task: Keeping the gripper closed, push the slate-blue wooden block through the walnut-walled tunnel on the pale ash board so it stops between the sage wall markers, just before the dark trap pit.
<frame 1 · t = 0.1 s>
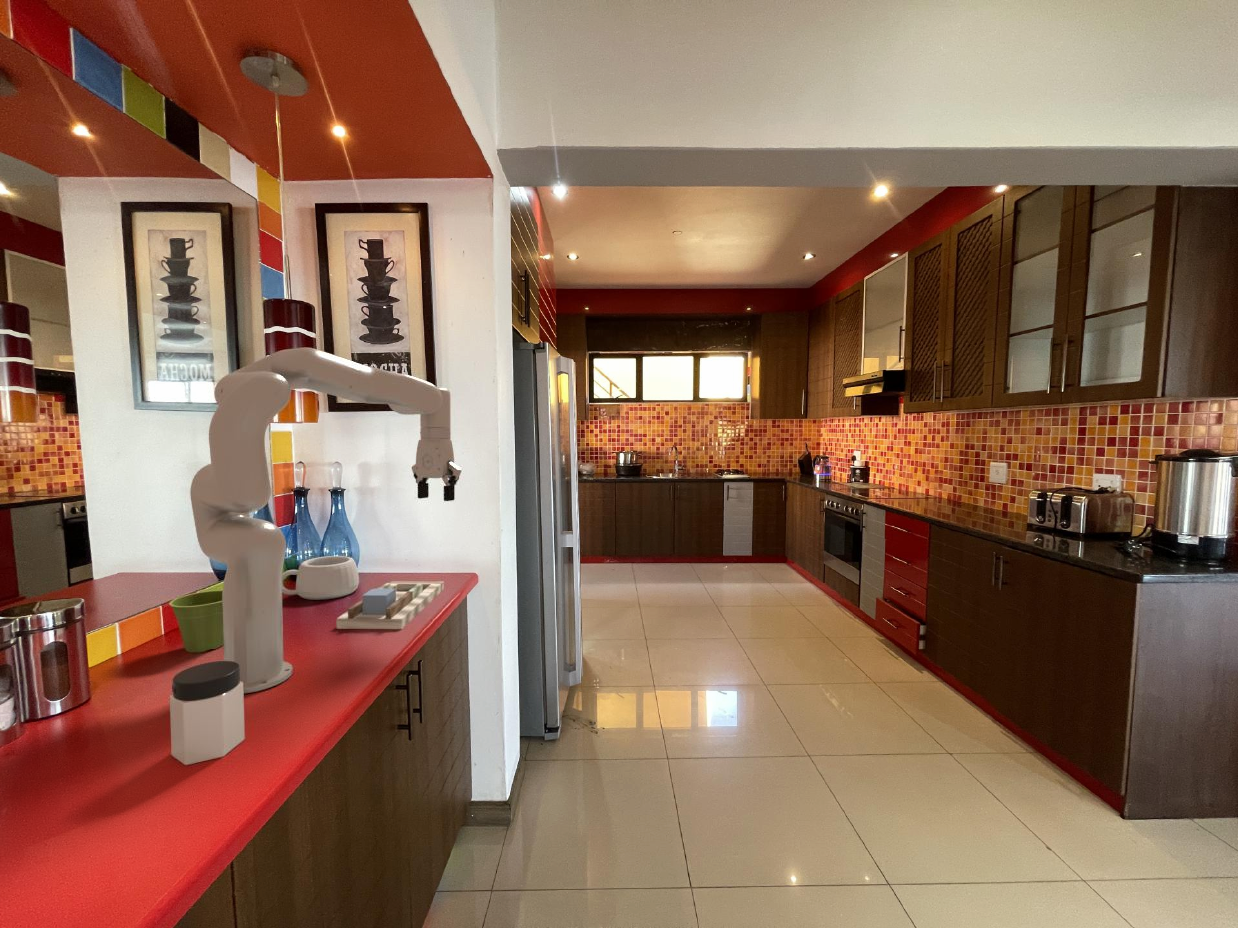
hand: (435, 499, 142), 31 cm above the countertop, tool pointing down, fingers open, 9 cm apart
plant pot: (205, 647, 120), on the countertop
jar: (209, 749, 82), on the countertop
slate block: (379, 610, 138), point 2 cm above the countertop, touching tunnel board
mug: (319, 595, 159), on the countertop
tunnel board: (389, 612, 144), on the countertop
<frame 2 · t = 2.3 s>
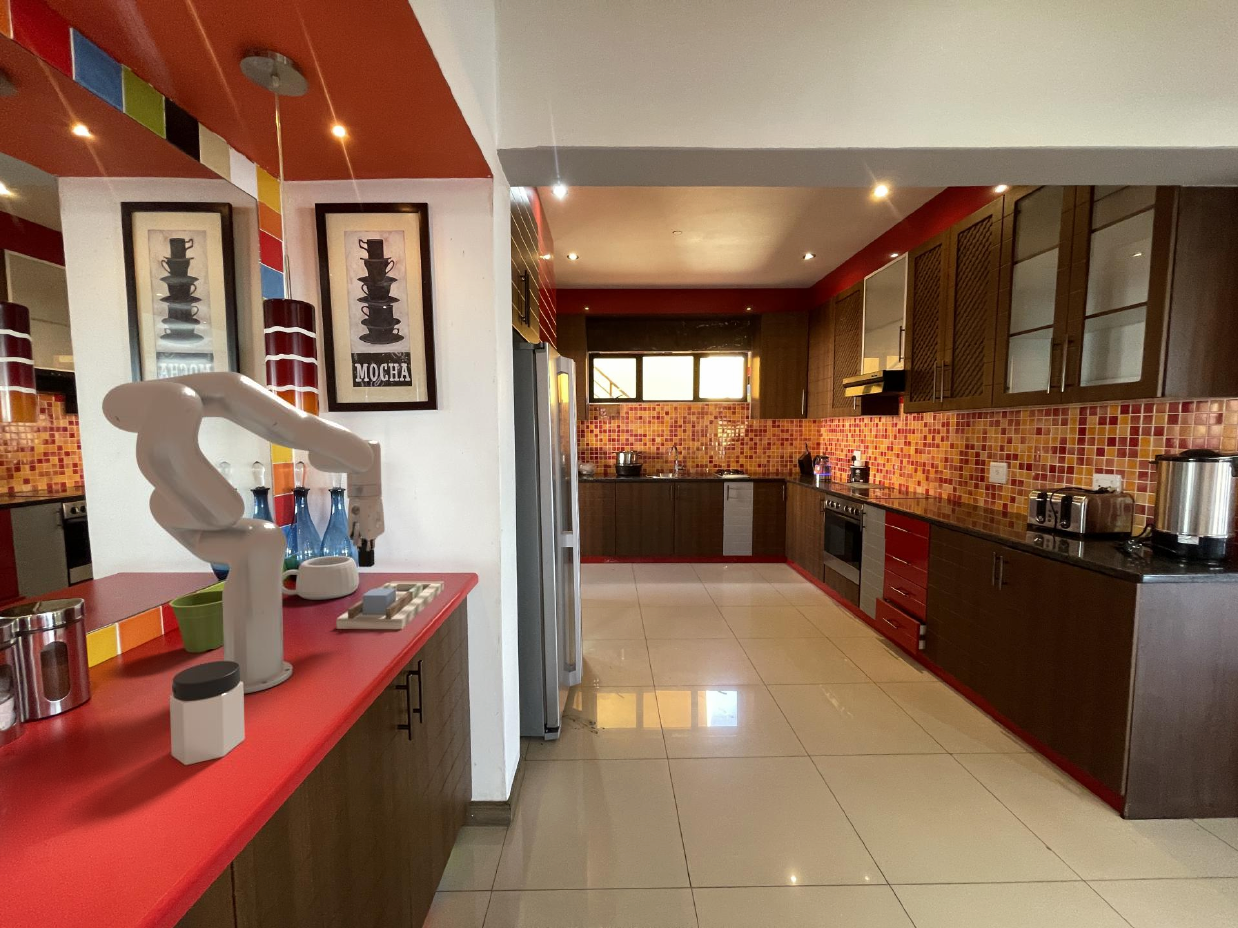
hand: (366, 565, 130), 16 cm above the countertop, tool pointing down, fingers closed
nothing on the countertop moved.
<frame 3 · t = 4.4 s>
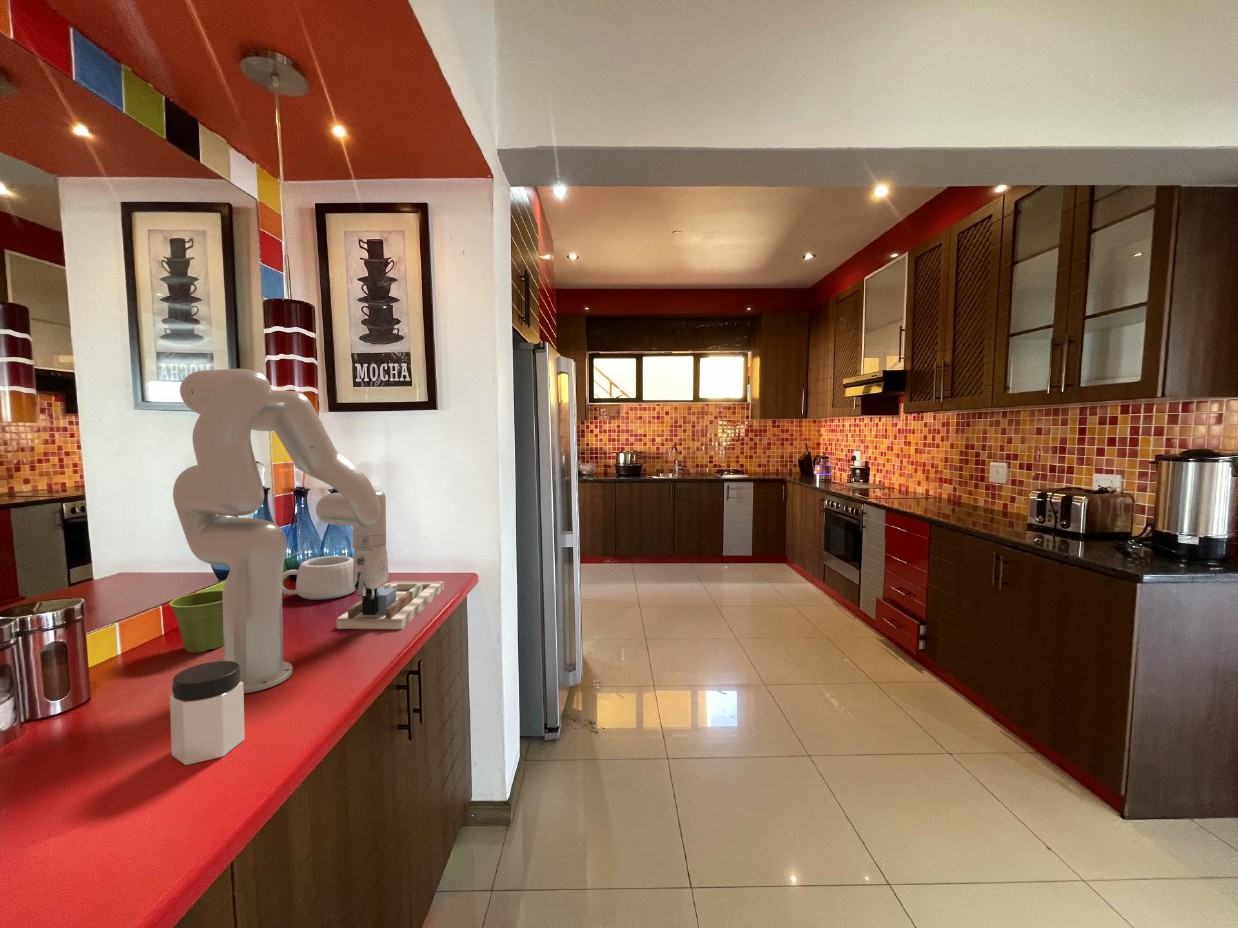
hand: (370, 613, 133), 4 cm above the countertop, tool pointing down, fingers closed
slate block: (379, 610, 138), point 2 cm above the countertop, touching gripper, tunnel board
everything else where it was.
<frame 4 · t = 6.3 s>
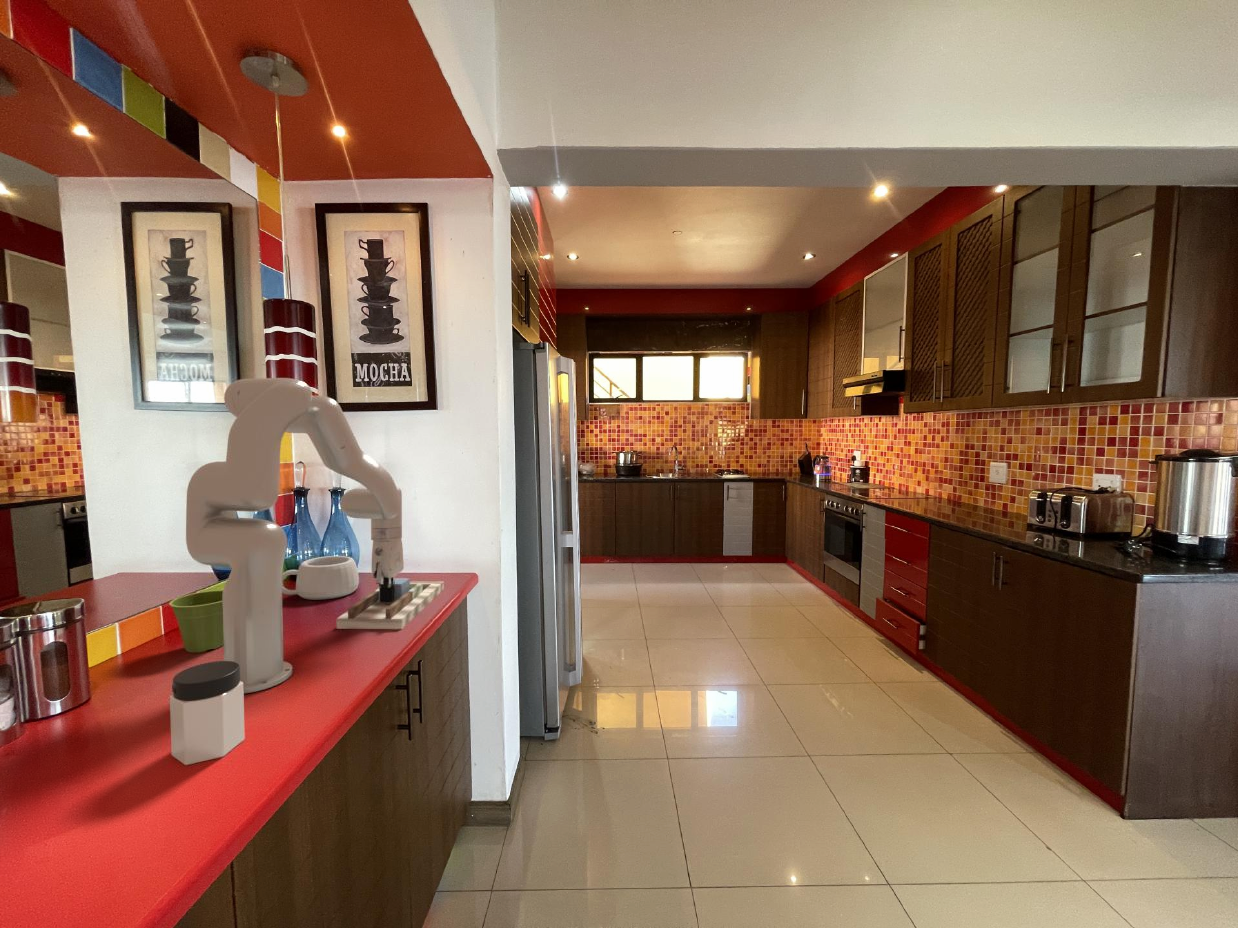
hand: (387, 601, 143), 4 cm above the countertop, tool pointing down, fingers closed
slate block: (394, 598, 148), point 3 cm above the countertop, touching gripper
everything else where it was.
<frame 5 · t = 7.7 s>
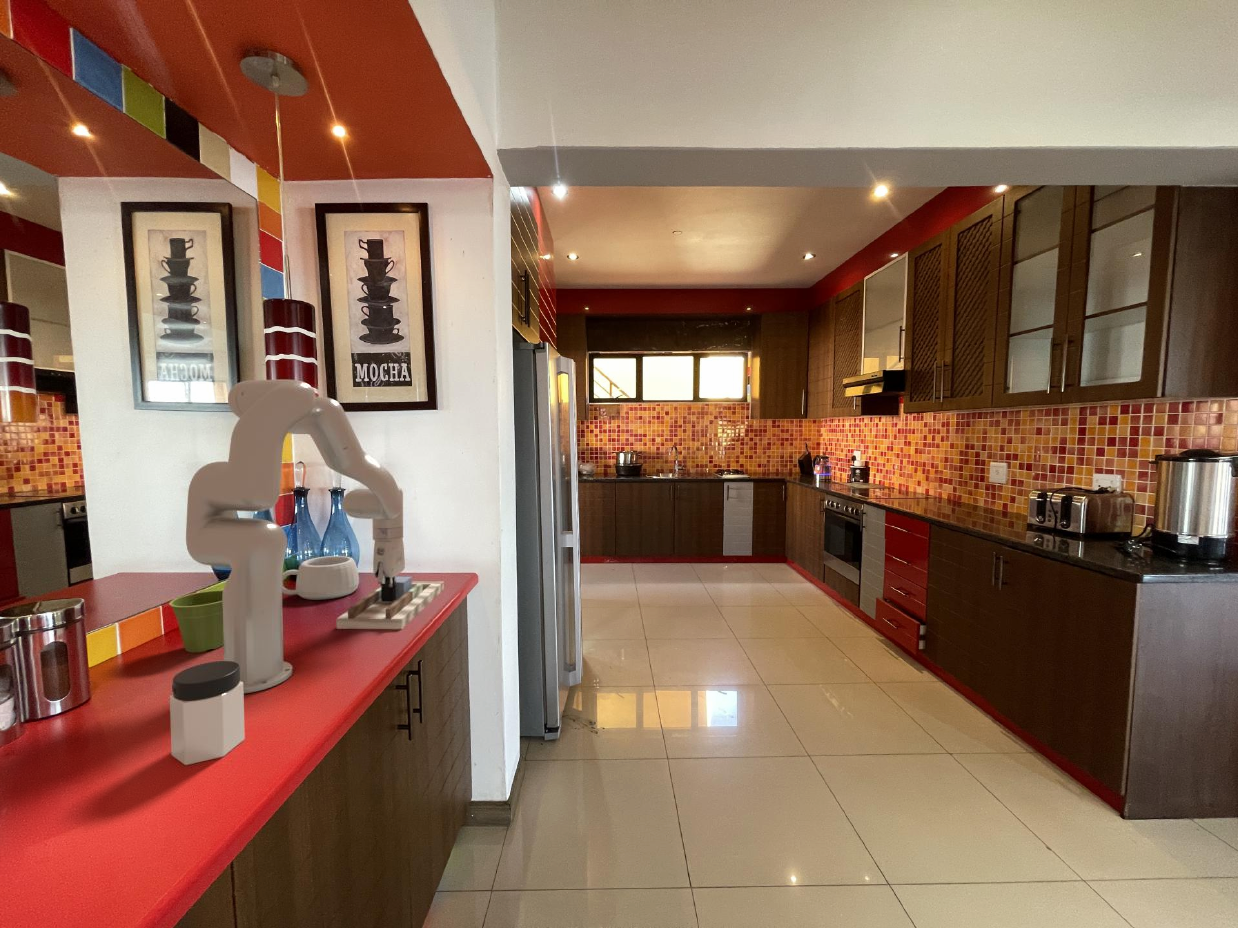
hand: (388, 600, 144), 3 cm above the countertop, tool pointing down, fingers closed
slate block: (397, 596, 150), point 2 cm above the countertop, touching tunnel board
everything else where it was.
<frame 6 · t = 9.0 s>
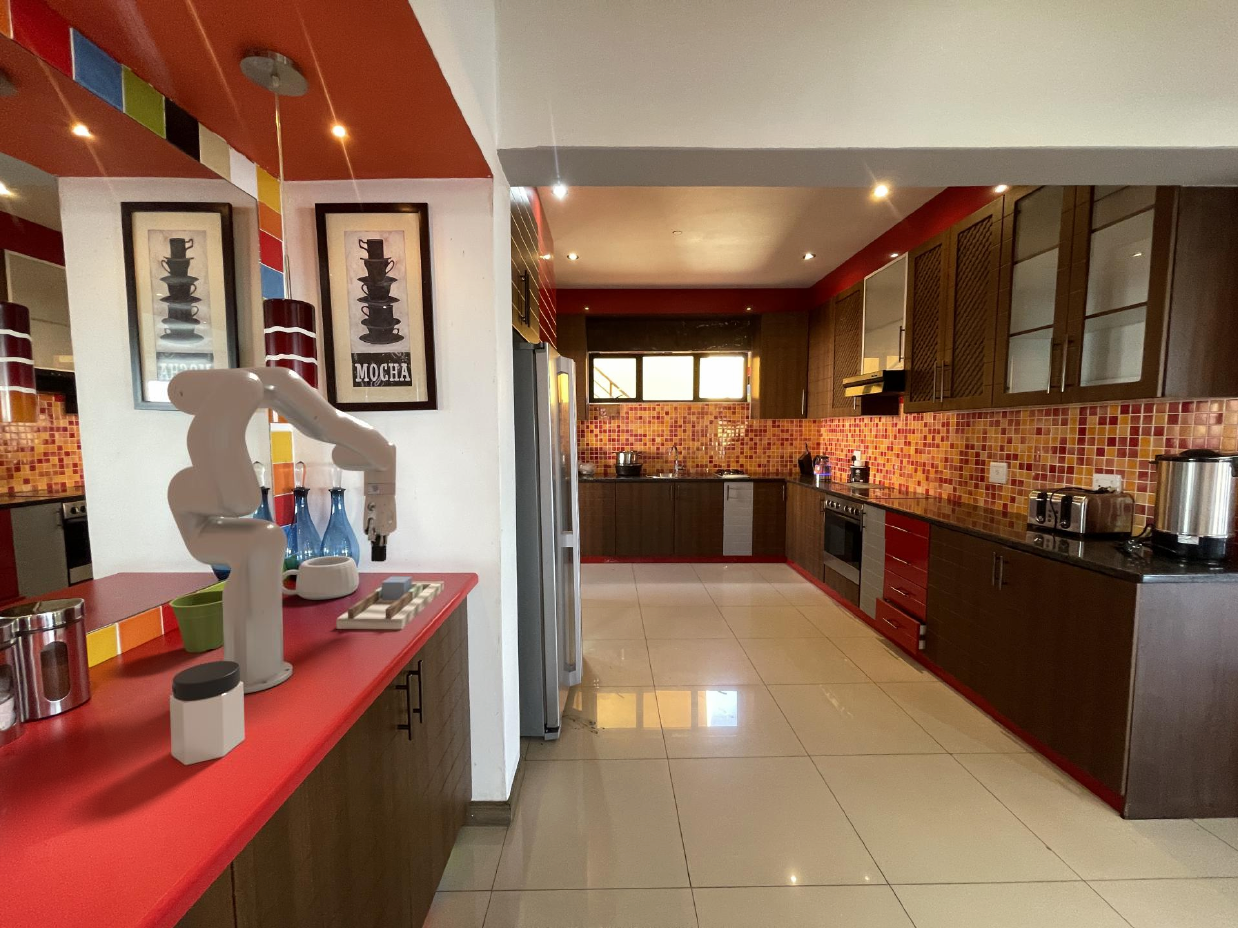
hand: (378, 560, 138), 16 cm above the countertop, tool pointing down, fingers closed
nothing on the countertop moved.
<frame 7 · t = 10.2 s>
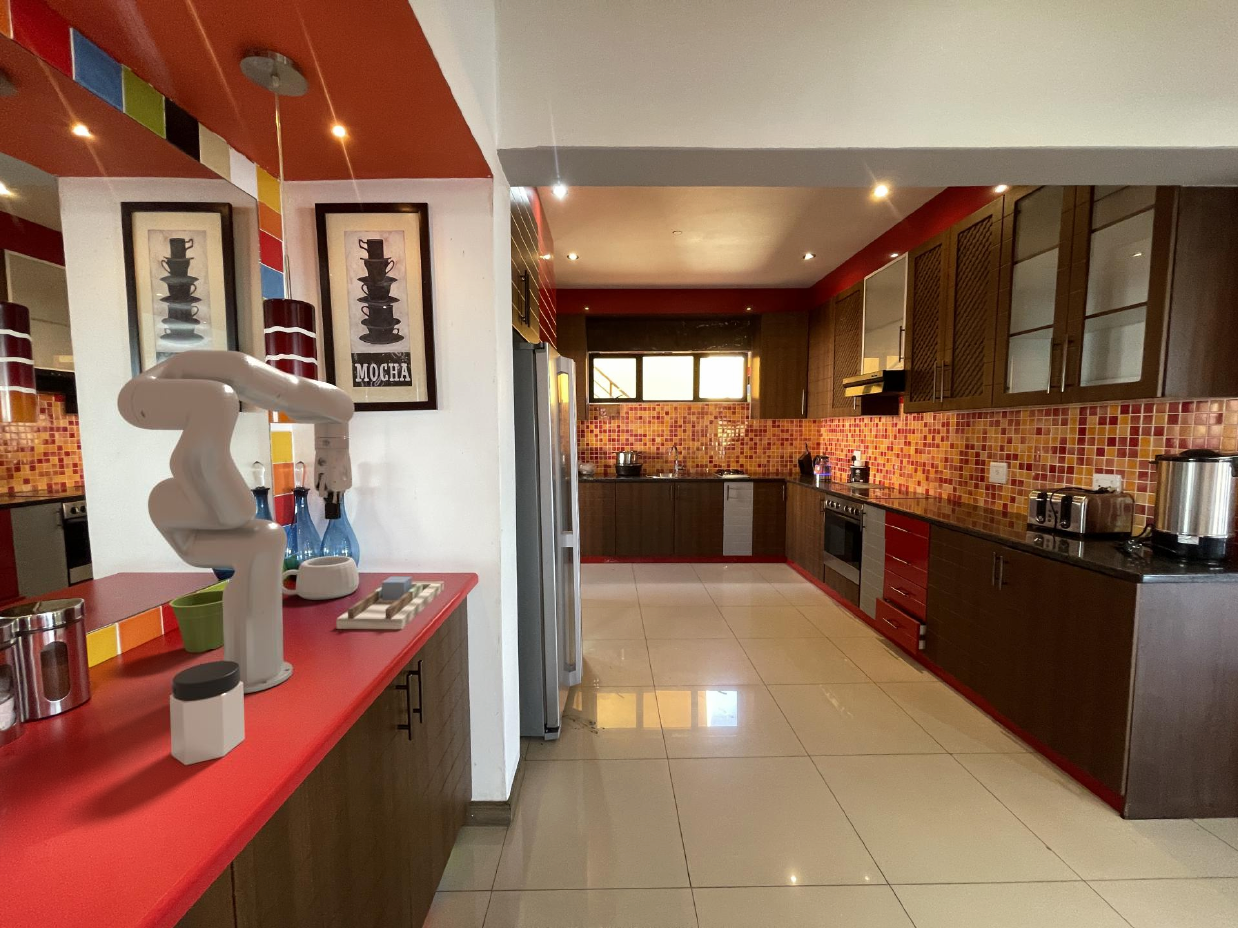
hand: (332, 518, 133), 27 cm above the countertop, tool pointing down, fingers closed
nothing on the countertop moved.
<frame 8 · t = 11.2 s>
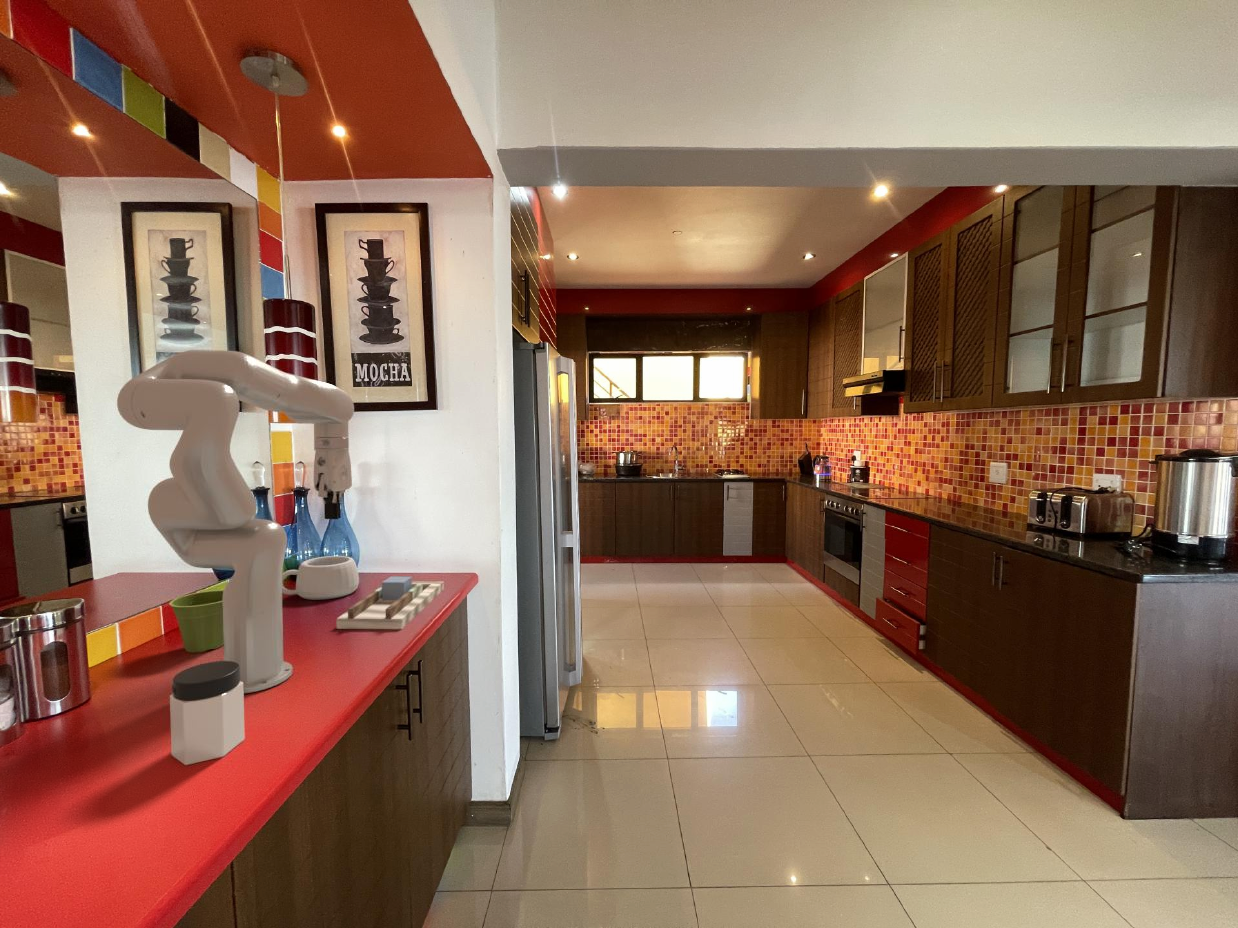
hand: (332, 518, 133), 27 cm above the countertop, tool pointing down, fingers closed
nothing on the countertop moved.
at the end: slate block 0.3 cm from the target spot, point 2.5 cm above the countertop; slate block tilted 0° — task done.
